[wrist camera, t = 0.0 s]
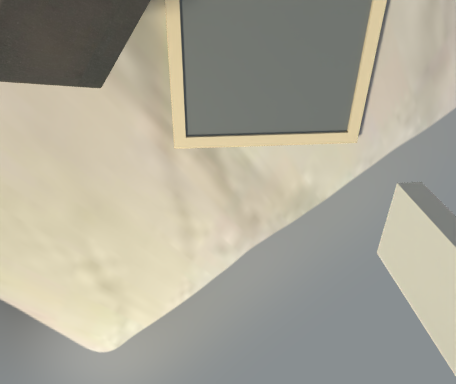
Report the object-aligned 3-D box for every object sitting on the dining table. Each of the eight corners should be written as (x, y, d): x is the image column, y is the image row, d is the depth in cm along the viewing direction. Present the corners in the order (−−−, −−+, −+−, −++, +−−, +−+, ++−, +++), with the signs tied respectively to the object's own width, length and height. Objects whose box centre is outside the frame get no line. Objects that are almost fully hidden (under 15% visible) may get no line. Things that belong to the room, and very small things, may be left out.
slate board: (163, -24, 32) (163, -23, 32) (386, -22, 34) (391, -21, 33) (174, 144, 41) (174, 148, 40) (353, 139, 42) (356, 142, 42)
